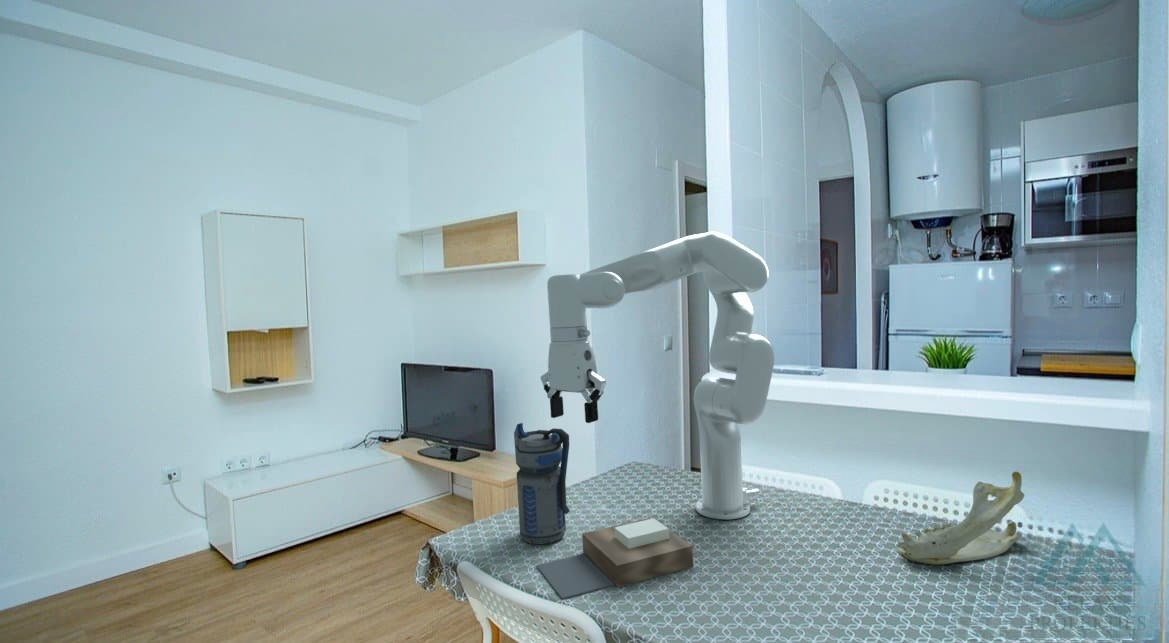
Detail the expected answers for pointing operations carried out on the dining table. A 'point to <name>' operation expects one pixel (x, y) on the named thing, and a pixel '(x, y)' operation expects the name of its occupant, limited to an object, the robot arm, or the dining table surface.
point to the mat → (574, 576)
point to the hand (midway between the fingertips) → (574, 419)
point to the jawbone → (969, 529)
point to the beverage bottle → (541, 483)
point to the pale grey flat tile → (641, 533)
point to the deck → (635, 556)
